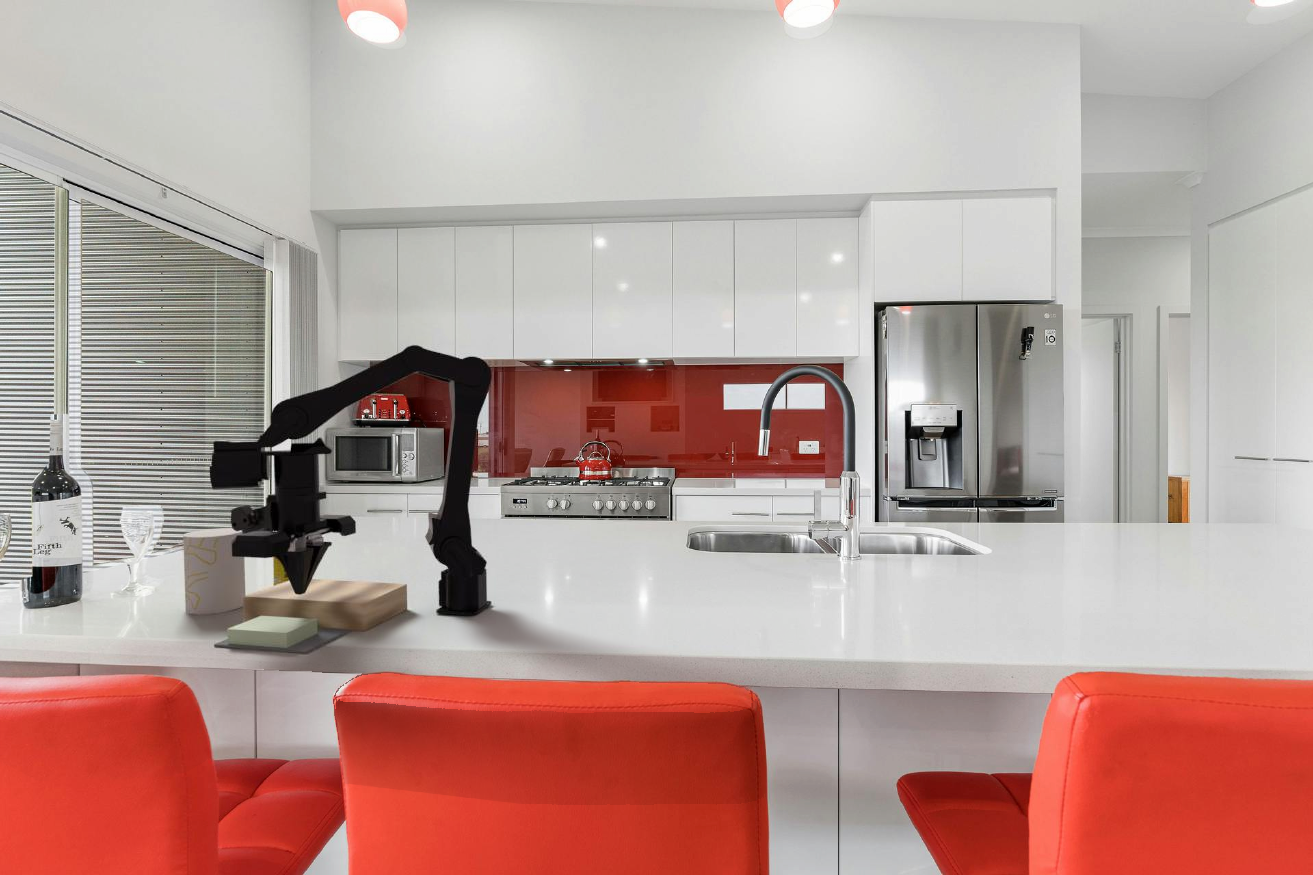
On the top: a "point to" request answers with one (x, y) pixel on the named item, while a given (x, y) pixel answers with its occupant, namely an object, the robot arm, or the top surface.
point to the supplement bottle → (279, 572)
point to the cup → (212, 572)
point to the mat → (300, 647)
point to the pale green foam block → (272, 631)
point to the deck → (330, 603)
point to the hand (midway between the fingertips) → (300, 593)
